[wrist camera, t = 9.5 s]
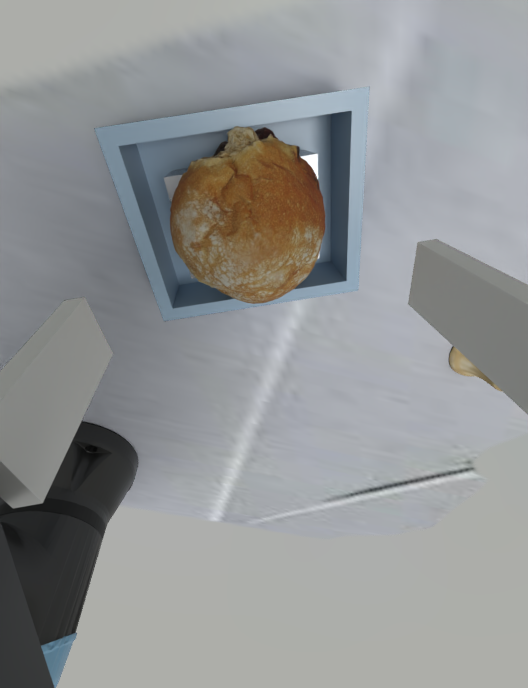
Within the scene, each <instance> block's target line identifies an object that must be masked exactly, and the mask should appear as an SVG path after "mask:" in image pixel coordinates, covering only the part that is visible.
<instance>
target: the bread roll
mask: <svg viewBox="0 0 528 688" xmlns="http://www.w3.org/2000/svg"><path fill="white" fill-rule="evenodd" d="M227 135H228V142H227V141H224V142H222V143H221V144H220V145H219V147H218V148H217V150H216V152H215V153H214V155H213V156H211V157H203V158H201V159H198V160H195V161H191V163H190V165H189V167H188V170H187V172H185V173H183V175H182V177H181V179H180V181H179V184H178V186H177V188H176V190H175V192H174V195H173V199H172V204H171V208H170V212H171V214H170V231H171V236H172V241H173V245H174V248H175V251H176V252H177V254H178V255H179V257H180V258H181V259H182V260H183V262H184V263H185V264H186V266H187V267H188V269H189V271H190V272H191V273H192V274H193V275H194V276H195V278H197V279H198V281H199V282H201V283H204V284H206V285H209V286H210V287H211V288H216V289H217V290H219V291H220V292H222V293H224V294H226V295H228V296H230V297H232V298H234V299H237V300H239V301H242V302H246V303H251V304H257V303H266V302H269V301H273V300H275V299H278V298H280V297H282V296H284V295H285V294H286V293H288V292H290V291H292V290H293V289H295V288H296V287H297V286H298V285H299V284H300V283H301V282H302V281H304V280H305V279H306V278H307V276H308V275H309V274H310V272H311V271H312V269H313V268H314V266H315V262H316V261H317V259H318V255H319V251H320V248H321V243H322V239H323V236H324V233H325V216H326V215H325V209H324V203H323V196H322V194H321V191H320V187H319V181H318V179H317V176H316V174H315V172H314V170H313V169H312V167H311V166H310V165H309V164H308V163H307V161H306V160H304V159H302V158H301V157H300V155H299V152H300V147H299V146H296V145H289V144H285V143H284V142H283V141H280V140H278V138H277V137H276V136H275V134H274V132H273V131H272V130H270V129H268V128H266V127H264V128H261V129H257V130H256V131H255V132H254V129H252V128H251V127H246V128H245V127H239V126H236V127H234V128H233V129H232V130H230V131H229V132H228V133H227Z"/></svg>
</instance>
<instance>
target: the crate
mask: <svg viewBox="0 0 528 688" xmlns="http://www.w3.org/2000/svg"><path fill="white" fill-rule="evenodd" d="M369 88H370V86H369V87H363V88H356V89H350V90H343V91H336V92H330V93H323V94H317V95H310V96H303V97H297V98H290V99H284V100H277V101H270V102H264V103H257V104H251V105H244V106H238V107H231V108H224V109H218V110H211V111H205V112H198V113H191V114H185V115H178V116H172V117H165V118H159V119H152V120H145V121H139V122H132V123H126V124H119V125H112V126H106V127H99V128H94V129H95V132H96V135H97V138H98V141H99V143H100V146H101V149H102V152H103V154H104V157H105V160H106V163H107V165H108V168H109V171H110V174H111V176H112V179H113V182H114V185H115V188H116V190H117V193H118V196H119V199H120V201H121V204H122V207H123V210H124V212H125V215H126V218H127V221H128V224H129V226H130V229H131V232H132V235H133V237H134V240H135V243H136V246H137V248H138V251H139V254H140V257H141V259H142V262H143V265H144V268H145V271H146V273H147V276H148V279H149V282H150V284H151V287H152V290H153V293H154V295H155V298H156V301H157V304H158V306H159V309H160V312H161V315H162V318H163V320H164V321H169V320H175V319H182V318H188V317H194V316H201V315H207V314H213V313H220V312H226V311H232V310H239V309H245V308H251V307H257V306H264V305H270V304H276V303H283V302H289V301H295V300H302V299H308V298H314V297H321V296H327V295H333V294H339V293H346V292H352V291H358V287H359V269H360V251H361V233H362V215H363V197H364V178H365V160H366V142H367V124H368V106H369ZM236 126H239V127H245V128H246V127H251V128H252V129H254V132H255V131H256V130H257V129H261V128H264V127H266V128H268V129H270V130H272V131H273V132H274V134H275V136H276V137H277V138H278V140H280V141H283V142H284V143H285V144H289V145H296V146H299V147H300V150H307V151H310V152H313V153H317V154H318V181H319V187H320V191H321V194H322V196H323V203H324V209H325V215H326V216H325V233H324V236H323V239H322V243H321V248H320V259H317V261H316V262H315V266H314V268H313V269H312V271H311V272H310V274H309V275H308V276H307V278H306V279H305V280H304V281H302V282H301V283H300V284H299V285H298V286H297V287H296V288H295V289H293V290H292V291H290V292H288V293H286V294H285V295H284V296H282V297H280V298H278V299H275V300H273V301H269V302H266V303H257V304H251V303H246V302H242V301H239V300H237V299H234V298H232V297H230V296H228V295H226V294H224V293H222V292H220V291H219V290H217V289H216V288H211V287H210V286H209V285H206V284H204V283H201V282H199V281H198V279H197V278H193V279H192V278H191V275H190V271H189V269H188V267H187V266H186V264H185V263H184V262H183V260H182V259H181V258H180V257H179V255H178V254H177V252H176V251H175V248H174V245H173V241H172V236H171V231H170V214H171V212H170V208H171V202H170V199H169V195H168V192H167V188H166V184H165V181H164V177H165V176H166V175H167V174H168V173H169V172H171V171H172V170H176V169H183V168H188V167H189V165H190V163H191V161H195V160H198V159H201V158H203V157H211V156H213V155H214V153H215V152H216V150H217V148H218V147H219V145H220V144H221V143H222V142H224V141H227V142H228V135H227V133H228V132H229V131H230V130H232V129H233V128H234V127H236Z"/></svg>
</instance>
